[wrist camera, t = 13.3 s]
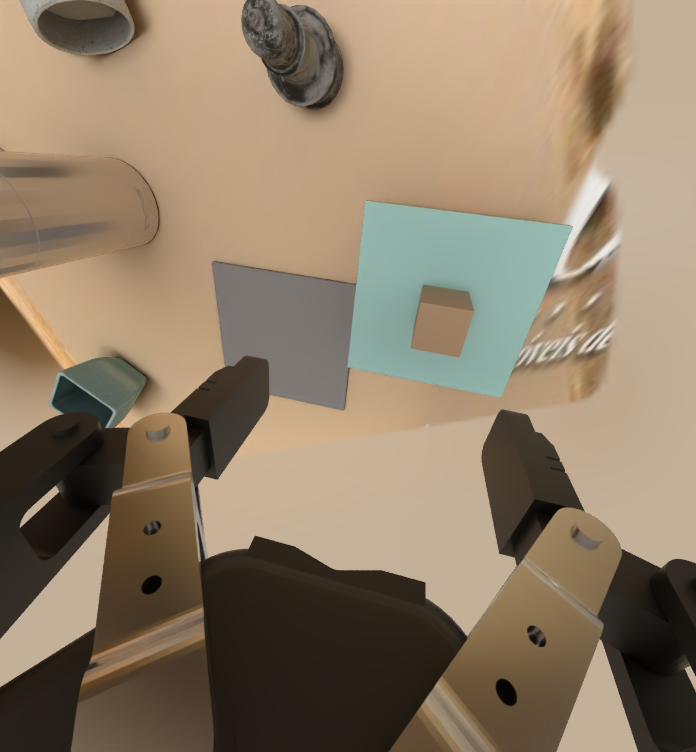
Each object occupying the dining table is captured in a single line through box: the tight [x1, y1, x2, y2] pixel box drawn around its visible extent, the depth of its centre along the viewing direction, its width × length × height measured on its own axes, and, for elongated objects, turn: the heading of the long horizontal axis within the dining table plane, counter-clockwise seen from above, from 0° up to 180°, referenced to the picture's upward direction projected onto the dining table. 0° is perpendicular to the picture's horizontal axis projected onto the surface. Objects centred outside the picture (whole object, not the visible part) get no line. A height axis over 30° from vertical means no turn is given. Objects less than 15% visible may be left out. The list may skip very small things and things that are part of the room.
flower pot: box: [49, 357, 146, 428], centre depth 50 cm, size 9×9×9 cm
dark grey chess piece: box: [241, 0, 343, 109], centre depth 24 cm, size 6×6×12 cm
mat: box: [212, 261, 356, 411], centre depth 44 cm, size 18×18×1 cm
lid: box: [348, 200, 573, 398], centre depth 28 cm, size 16×16×6 cm
